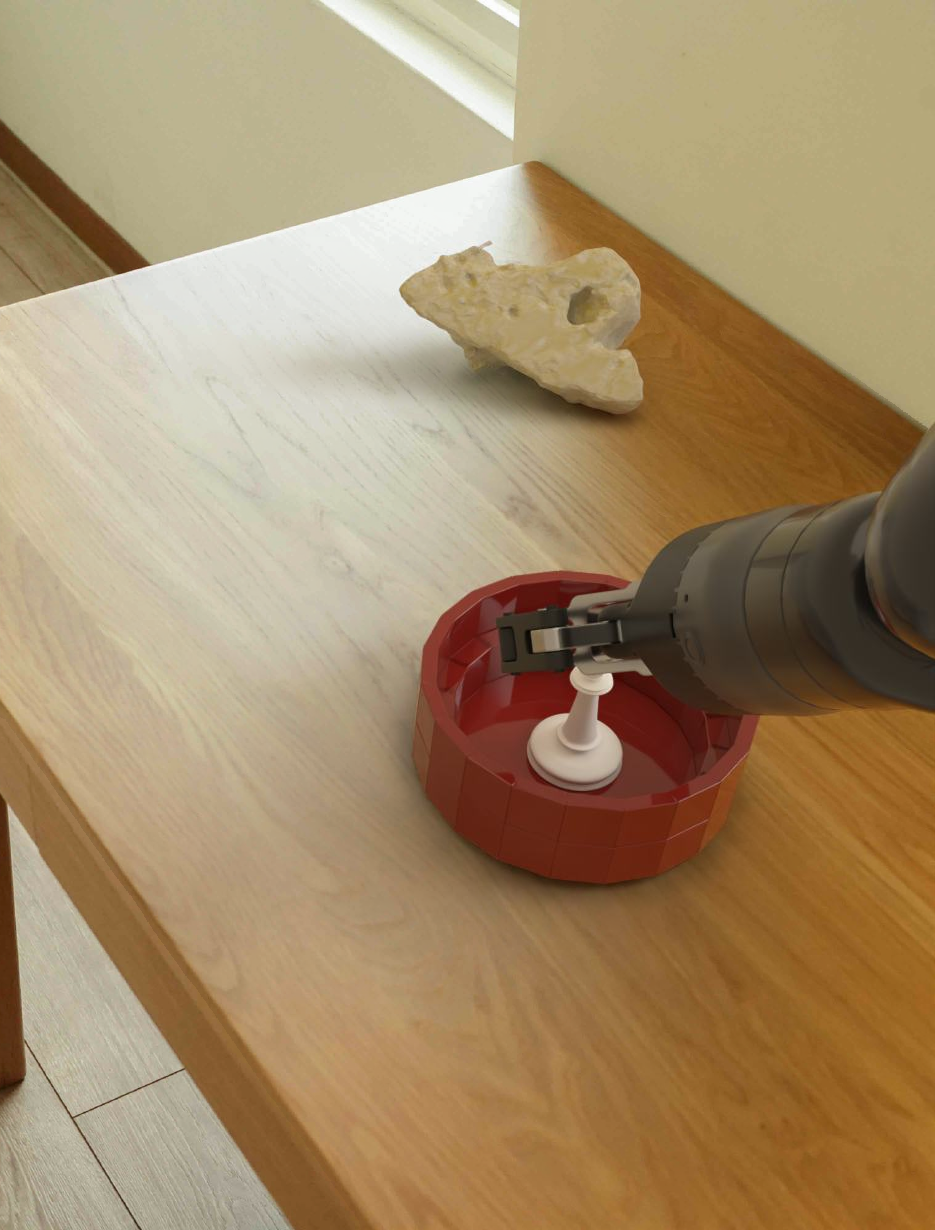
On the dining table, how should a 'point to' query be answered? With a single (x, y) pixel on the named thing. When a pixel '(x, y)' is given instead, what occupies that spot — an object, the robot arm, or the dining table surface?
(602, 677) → the chess piece
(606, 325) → the beige rock
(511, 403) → the dining table surface
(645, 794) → the bowl
